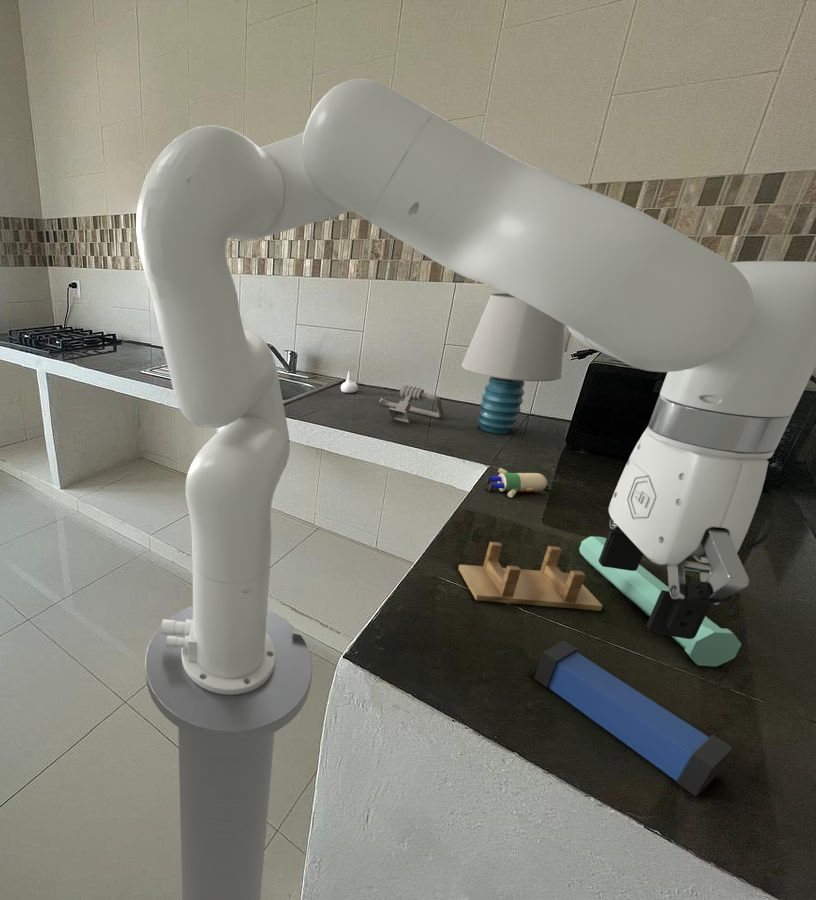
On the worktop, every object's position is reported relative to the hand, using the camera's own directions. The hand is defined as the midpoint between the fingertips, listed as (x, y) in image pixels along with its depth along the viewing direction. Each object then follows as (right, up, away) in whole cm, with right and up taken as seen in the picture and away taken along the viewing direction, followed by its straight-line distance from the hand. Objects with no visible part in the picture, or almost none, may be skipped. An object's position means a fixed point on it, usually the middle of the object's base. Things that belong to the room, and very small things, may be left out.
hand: (640, 597), depth 45 cm
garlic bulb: (+11, +36, +141) cm, 146 cm away
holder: (+10, -8, +32) cm, 34 cm away
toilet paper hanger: (+21, +25, +114) cm, 118 cm away
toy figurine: (+28, +4, +63) cm, 69 cm away
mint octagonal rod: (+25, -10, +29) cm, 40 cm away
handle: (+6, -17, +10) cm, 21 cm away
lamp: (+46, +20, +103) cm, 114 cm away
